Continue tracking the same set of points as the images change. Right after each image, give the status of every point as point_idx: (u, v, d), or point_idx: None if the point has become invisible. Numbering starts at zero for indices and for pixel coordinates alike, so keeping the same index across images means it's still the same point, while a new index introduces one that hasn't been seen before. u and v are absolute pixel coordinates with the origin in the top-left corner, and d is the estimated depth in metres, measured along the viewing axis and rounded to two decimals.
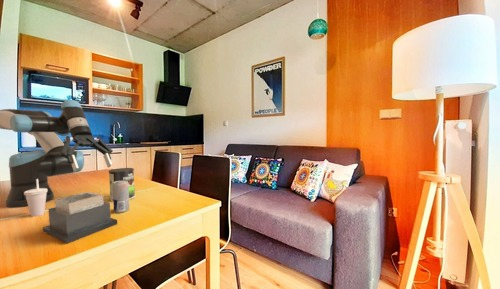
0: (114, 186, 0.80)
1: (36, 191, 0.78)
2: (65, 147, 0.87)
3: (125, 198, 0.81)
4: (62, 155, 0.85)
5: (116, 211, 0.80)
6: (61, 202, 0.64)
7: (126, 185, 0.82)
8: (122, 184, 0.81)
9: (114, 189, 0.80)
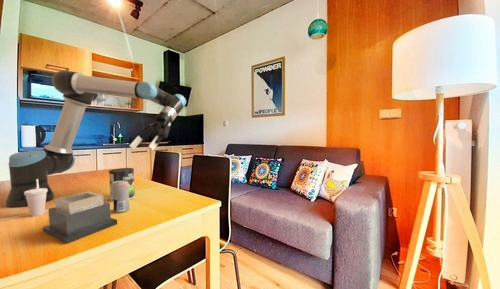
0: (114, 186, 0.80)
1: (36, 191, 0.78)
2: None
3: (125, 198, 0.81)
4: (164, 136, 0.93)
5: (116, 211, 0.80)
6: (61, 202, 0.64)
7: (126, 185, 0.82)
8: (122, 184, 0.81)
9: (114, 189, 0.80)
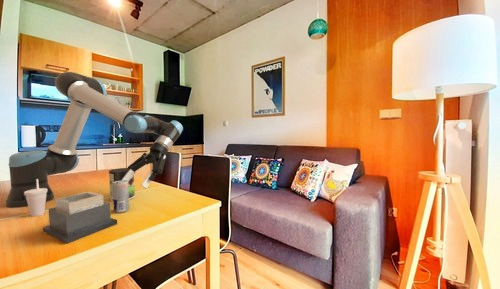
0: (114, 186, 0.80)
1: (36, 191, 0.78)
2: None
3: (125, 198, 0.81)
4: (158, 172, 0.86)
5: (116, 211, 0.80)
6: (61, 202, 0.64)
7: (126, 185, 0.82)
8: (122, 184, 0.81)
9: (114, 189, 0.80)
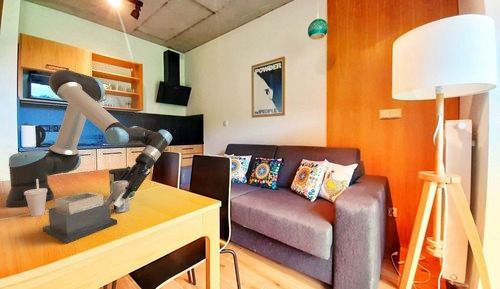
0: (114, 186, 0.80)
1: (36, 191, 0.78)
2: None
3: None
4: (133, 189, 0.81)
5: (116, 211, 0.80)
6: (61, 202, 0.64)
7: (126, 185, 0.82)
8: (122, 184, 0.81)
9: (114, 189, 0.80)
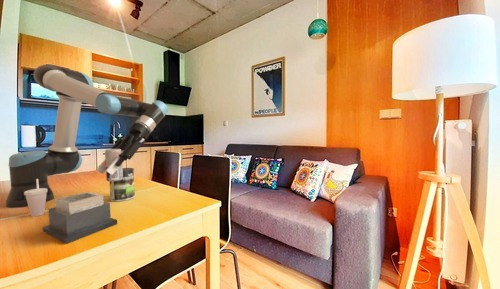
0: (107, 153, 0.76)
1: (36, 191, 0.78)
2: None
3: None
4: (126, 157, 0.77)
5: (109, 179, 0.77)
6: (61, 202, 0.64)
7: (119, 153, 0.78)
8: (115, 151, 0.77)
9: (107, 156, 0.76)
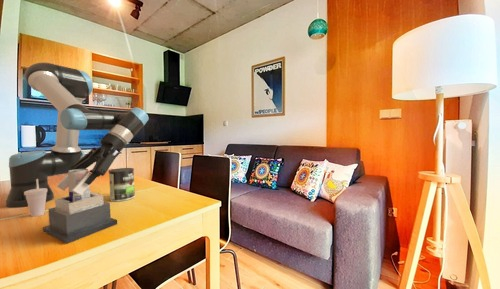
0: (69, 175, 0.65)
1: (36, 191, 0.78)
2: None
3: None
4: (99, 173, 0.65)
5: None
6: (61, 202, 0.64)
7: (85, 174, 0.67)
8: (79, 173, 0.66)
9: (69, 179, 0.65)
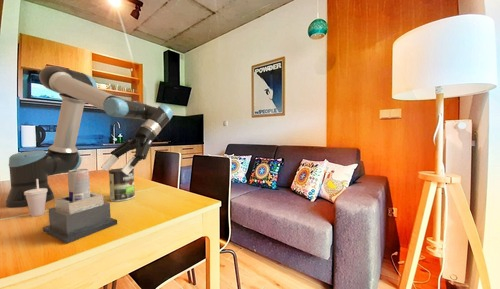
0: (69, 175, 0.65)
1: (36, 191, 0.78)
2: None
3: (84, 190, 0.66)
4: (141, 157, 0.78)
5: None
6: (61, 202, 0.64)
7: (85, 174, 0.67)
8: (79, 173, 0.66)
9: (69, 179, 0.65)
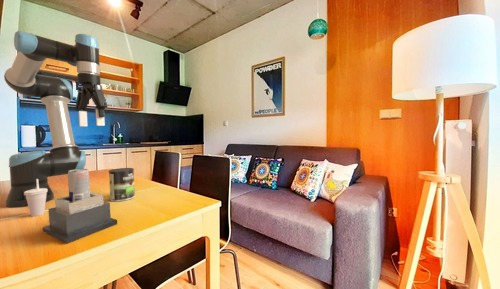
0: (69, 175, 0.65)
1: (36, 191, 0.78)
2: None
3: (84, 190, 0.66)
4: (103, 107, 0.81)
5: None
6: (61, 202, 0.64)
7: (85, 174, 0.67)
8: (79, 173, 0.66)
9: (69, 179, 0.65)
